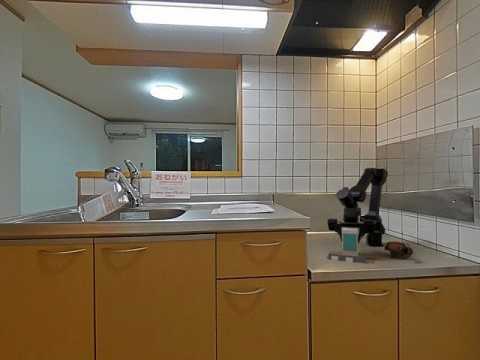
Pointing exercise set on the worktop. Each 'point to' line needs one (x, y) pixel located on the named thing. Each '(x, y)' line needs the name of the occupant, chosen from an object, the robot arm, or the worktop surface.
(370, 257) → the shelf board
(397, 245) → the pottery mug
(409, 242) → the worktop surface
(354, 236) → the carton
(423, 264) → the worktop surface
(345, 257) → the rail
